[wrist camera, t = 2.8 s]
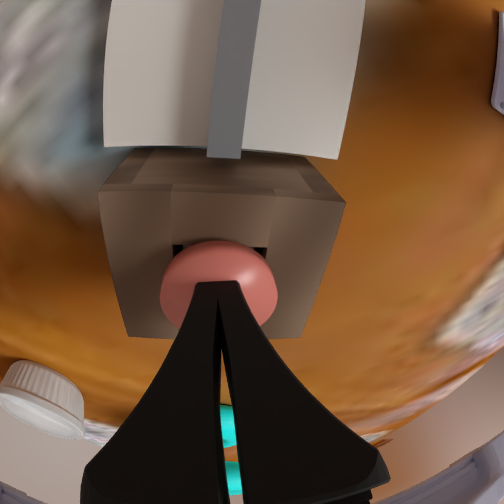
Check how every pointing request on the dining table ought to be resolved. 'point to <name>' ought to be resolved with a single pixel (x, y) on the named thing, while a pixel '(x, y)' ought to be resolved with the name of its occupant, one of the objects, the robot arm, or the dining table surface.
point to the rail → (231, 74)
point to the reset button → (218, 277)
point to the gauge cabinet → (216, 226)
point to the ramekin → (43, 399)
